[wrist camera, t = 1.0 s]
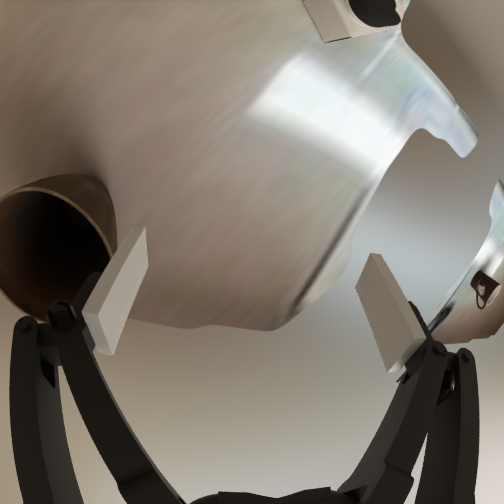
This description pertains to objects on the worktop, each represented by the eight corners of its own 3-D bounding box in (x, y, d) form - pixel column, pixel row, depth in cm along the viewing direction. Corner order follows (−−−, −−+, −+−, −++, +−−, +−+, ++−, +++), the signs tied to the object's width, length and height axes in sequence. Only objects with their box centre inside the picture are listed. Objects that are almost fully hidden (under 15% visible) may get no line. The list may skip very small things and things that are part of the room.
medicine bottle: (323, 43, 29) (377, 33, 19) (301, 1, 25) (349, -24, 15) (361, 33, 28) (418, 26, 19) (341, -7, 24) (395, -26, 14)
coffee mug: (479, 265, 69) (498, 282, 61) (485, 270, 72) (502, 286, 64) (460, 293, 73) (478, 311, 65) (467, 296, 77) (484, 313, 69)
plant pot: (34, 230, 32) (-14, 299, 19) (54, 134, 27) (-14, 167, 13) (119, 261, 39) (101, 343, 26) (152, 169, 33) (136, 222, 20)
